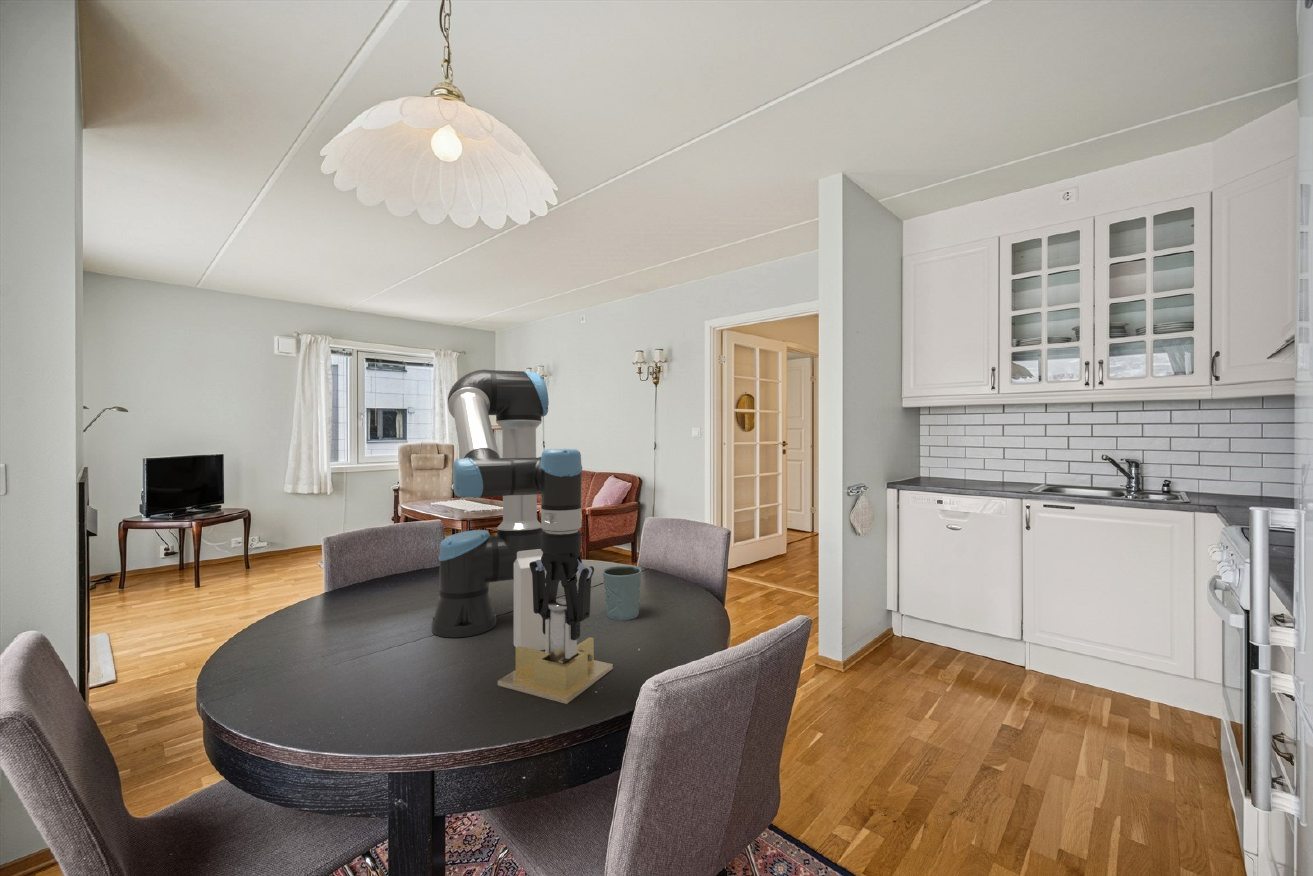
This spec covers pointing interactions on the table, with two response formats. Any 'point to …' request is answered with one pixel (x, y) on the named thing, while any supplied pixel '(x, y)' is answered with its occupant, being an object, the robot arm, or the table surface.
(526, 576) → the milk
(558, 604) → the pin
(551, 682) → the open box on plate
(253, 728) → the table surface
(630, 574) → the teal cup
